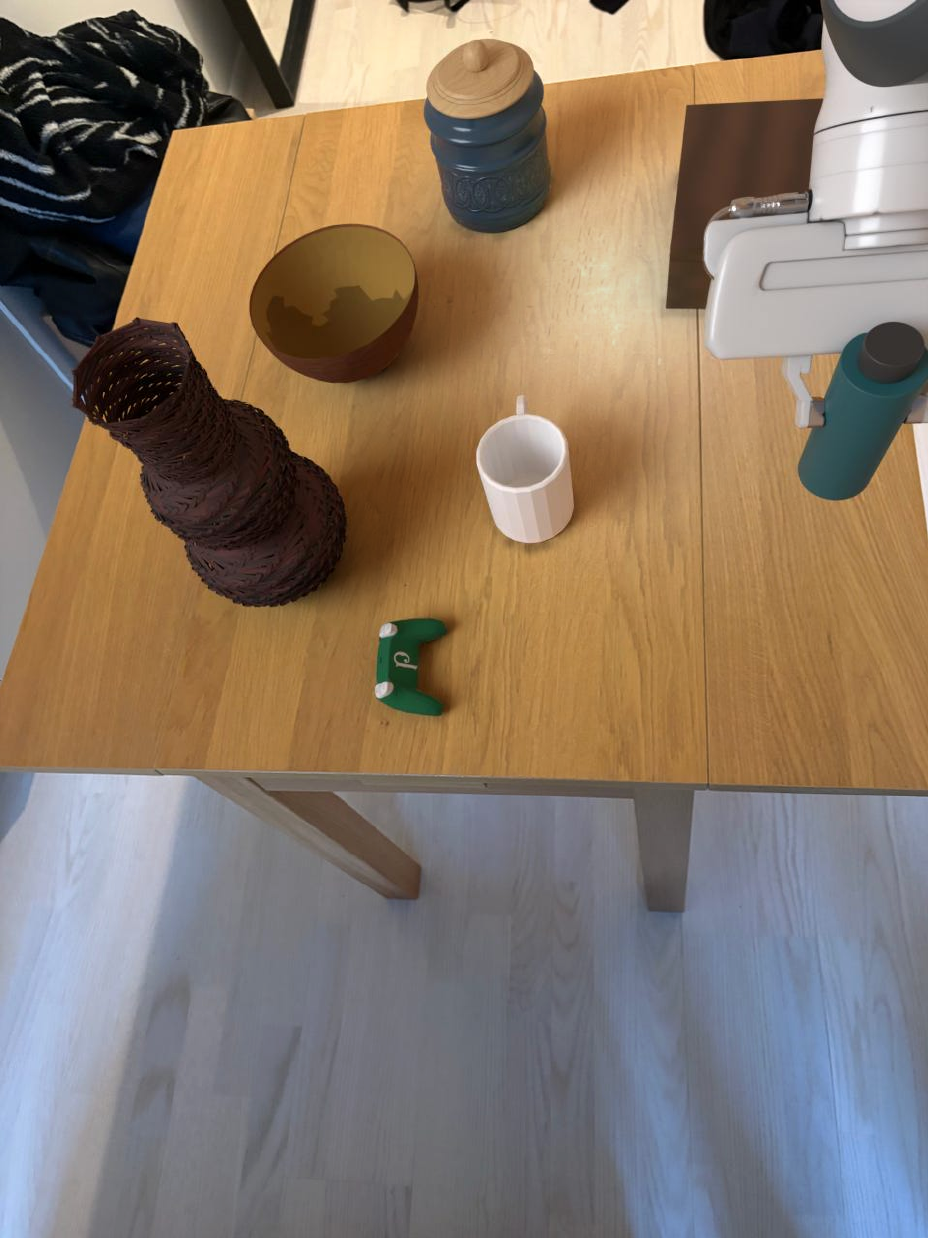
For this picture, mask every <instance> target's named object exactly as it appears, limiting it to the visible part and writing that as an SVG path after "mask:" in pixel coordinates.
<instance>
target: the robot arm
mask: <svg viewBox="0 0 928 1238" xmlns="http://www.w3.org/2000/svg"><path fill="white" fill-rule="evenodd" d="M820 6H821V12H822V17H823V20H822V34H821V56H822V59H823V60H822V61H823V66H824V76H825V77H824V79H825V80H824V83H825V84H824V93H823V97H822V98H823V103H822V106H821V110H820V112H819V115H818V118H817V121H816V124H815V129H814V137H813V149H812V160H811V172H810V182H809V191H806V192H796V193H785V194H779V195H777V196H776V195H774V196H772V197H771V196H769V197H763V198H754V197H743V198H738V199H735V200H732V201H731V203H730V206H728V207H725V208H723V209H721V210H720V211H718V212H717V213H716V214H714V216H713V217H712V218H711V219H710V221H709V222H708V224H707V226H706V229H705V231H704V238H703V265H704V269H705V271H706V273H707V274H708V275H709V276H710V277H711V283H710V288H709V293H708V299H707V305H706V309H705V312H704V322H703V323H704V324H703V334H702V342H703V347H704V349H705V350H706V351H707V352H708V353H709V354H710V356H712V357H713V358H714V359H716V360H719V361H735V360H751V359H768V358H769V359H770V358H781V367H780V368H781V369H780V372H781V375H782V376H783V378H784V380H785V381H786V383H787V385H788V388H789V389H790V391H791V393H792V395H793V396H794V397H793V398H795V399H796V400H795V401H796V403H795V414H794V422H795V423H794V425H795V427H796V428H798V429H812V428H818V427H823V425H824V420H825V418H824V416H823V413H824V412H825V405H826V400H824V398H823V397H821V396H812V395H811V392H810V391H809V388H808V387H807V385H806V383H805V381H804V379H803V377H802V375H808V374H810V373H811V371H812V362H813V356H817V355H818V356H820V355H821V356H823V355H838V354H840V355H841V353H842V351H843V349H844V347H845V346H846V344H847V343H848V342H849V341H850V340H852V339H853V338H854V337H856V336H857V335H859V334H861V333H868V332H869V331H870V330H871V329H872V328H874V327H875V326H877V325H879V324H882V323H886V322H901V323H905V324H908V325H910V326H912V327H914V328H915V329H917V330H918V331H919V332H920V334H921V335H922V337H923V339H924V344H925V347H926V348H927V350H928V0H820ZM806 212H807V213H806ZM729 213H730V217H731V218H736V219H730V220H719V219H720V218H721V217H723V216H725V215H727V214H729ZM765 214H766V215H775V216H764V217H753V216H759V215H765ZM751 217H753V218H751ZM718 220H719V221H718ZM807 222H808V223H809V224H807ZM903 424H904V425H917V424H919V425H920V424H928V379H927V381H926V383H925V385H924V387H923V388H922V390H921V392H920V394H919V395H918V397H917V399H916V401H915V403H914V404H913V406H912V408H911V410H910V411H909V413H908V415H907V417H906V418H905V420H904V422H903Z"/></svg>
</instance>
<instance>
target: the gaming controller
mask: <svg viewBox="0 0 928 1238" xmlns="http://www.w3.org/2000/svg"><path fill="white" fill-rule="evenodd" d="M447 633H448V628H447V626H446V624H445V622H444V621H443V620H441V619H438V618H433V617H421V618H420V617H416V618H415V617H413V618H405V619H399V620H393V621H389V622H385V623H384V624H383V625H381V627H380V629H379V633H378V634H379V635H378V642H379V643H378V648H377V654H376V655H377V656H376V669H375V671H376V673H375V677H376V679H375V680H376V683H375V685H374V686H375V687H374V691H375V698H376V699H377V700H378V701H379V702H380V703H382V704H384V705H386V706H387V707H389V708H391V709H393V710H396V711H400V712H403V713H407V714H413V715H419V716H429V717H441V716H442V713H443V710H444V707H445V704H444V703H443V702H442V701H440V699H438V698H436V697H434V696H432V695H431V694H428V693H426V692H423V691H421V690H418V678H419V662H420V661H419V660H420V645H422V644H424V643H427V642H431V641H434V640H435V641H436V640H438V639H439V638H442V637H444V636H446V634H447Z"/></svg>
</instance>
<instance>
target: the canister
mask: <svg viewBox="0 0 928 1238" xmlns="http://www.w3.org/2000/svg"><path fill="white" fill-rule="evenodd" d="M534 67H535V66H534V62H533V60H532V57H531V56H530V55H529V53H528V52H527V51H526V50H525V49H523V48H522V47H521V46H519V45H516V44H514V43H512V42H508V41H504V40H501V39H496V38H482V39H480V38H479V39H472V40H470V41H467V42H465V43H463V44H461V45H459V46H457V47H455V48H453V50H451V51H449V52H448V53H447V54H446V55H445V56H444V57H443V58H442V59H441V60H439V62H438V63H436V64H435V66H434V67H433V68H432V70H431V71H430V73H429V75H428V78H427V80H426V85H425V87H426V88H425V89H426V90H425V92H426V97H425V101H424V103H423V119H424V122H425V124H426V126H427V128H428V130H429V131H430V137H429V145H430V149H431V152H432V154H433V156H434V158H435V163H436V166H437V170H438V171H437V172H438V175H439V176H438V177H439V179H440V184H441V185H440V187H441V188H440V190H441V195H442V199H443V202H444V205H445V207H446V208H447V210H448V212H449V214H450V216H451V218H452V219H453V221H455V222H456V223H457V224H458V225H460V226H461V227H463V228H465V229H467V230H469V231H474V232H478V233H491V234H492V233H501V232H506V231H508V230H512V229H516V228H517V227H519V226H520V227H521V226H522V225H524V224H525V223H527V222H528V221H530V220H531V219H533V218H535V216H536V215H537V214H538V213H539V212H540V211H541V210H542V209H543V208H544V206H545V205H546V203H547V201H548V199H549V196H550V191H551V185H552V166H551V161H550V159H549V150H548V149H549V148H548V138H547V137H548V136H547V126H548V119H547V113H546V111H545V108H544V106H543V102H544V97H545V87H544V83H543V80H542V78H541V76H540V75H539V73H538V71H536V70H535V68H534Z"/></svg>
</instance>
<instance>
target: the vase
mask: <svg viewBox="0 0 928 1238" xmlns="http://www.w3.org/2000/svg"><path fill="white" fill-rule="evenodd" d="M94 341H95V342H94V343H93V345H92V346H91V347H90V348H89V350H88V351H87V352H86V353H85V355H84V356H83V357H82V359H81V360H80V361H79V362H78V364H77V365H76V366H75V367H74V369H72V370H70V372H71V375H72V376H73V377H72V378H73V383H72V384H73V385H72V398H71V401H72V405H71V407H72V408H74V409H77V410H79V411H80V412H82V414H84V415H85V417H86V418H87V419H88V420H87V421H88V422H90V423H91V425H93V426H98V427H99V428H100V427H101V428H102V429H104V430H107V431H109V432H108V434H109V435H108V436H109V437H110V438H111V439H112V440H114V441H116V442H118V443H119V444H120V445H121V446H122V447H124V448H126V449H127V450H130V451H131V452H132V453H133V455H135V456H136V458H137V461H139V463H141V464H142V465H141V467H140V468H141V470H140V471H141V473H140V474H139V479H140V483H139V484H140V486H141V488H142V491H143V493H144V496H143V497H144V498H145V499H146V503H147V504H148V505H149V509H150V513H151V515H153V516H154V519H155V520H156V521H157V522H158V523H159V522H160V524H161V525H162V526H164V527H166V528H169V529H170V532H171V533H172V534H174V535H176V536H177V538H178V539H180V540H181V541H184V544H185V545H184V546H183V548H184V550H185V553H186V555H185V557H186V558H187V561H188V562H189V564H190V566H191V570H192V571H193V572H195V573H196V574H197V577H199V578H201V579H200V581H201V583H203V584H204V585H206V586H207V588H206V589H208V591H211V592H215V594H216V595H217V596H219V597H224V598H225V599H227V600H231V602H232V603H233V604H234V605H241V606H242V607H245V608H251V607H252V606H253V608H261V607H262V608H266V607H269V608H277V607H278V606H280V607H285V606H286V605H288V604H290V603H295V602H297V600H299V599H301V598H306V597H307V596H308V595H309V594H310V593H312V592H315V591H317V590H318V589H319V588H320V587H321V585H322V584H324V583H326V582H327V580H328V579H329V578H330V576H331V574H333V573H334V571H335V570H336V567H337V564H338V562H340V561H341V558H342V554H343V552H344V547H345V543H346V541H347V531H348V517H347V510H346V506H345V502H344V499H343V496H342V495H341V494H340V492H339V488H338V486H337V484H335V483H334V482H333V480H332V477H331V476H330V475H329V474H328V473H327V472H326V471H325V469H324V468H323V467H322V466H321V465H318V464H317V463H315V461H314V460H312V459H310V458H308V457H306V456H303V455H300V454H298V453H297V452H294V451H292V449H291V447H290V443H289V440H288V437H287V436H286V435H285V433H284V431H283V429H282V427H280V426H278V425H276V422H275V421H274V420H273V419H272V418H271V417H270V416H269V415H267V414H266V413H265V412H264V410H262V409H261V408H259V407H256V406H254V405H253V404H251V403H249V402H246V401H241V400H239V399H228V398H223V396H222V395H220V394H219V392H218V391H217V389H216V387H215V386H214V385H213V384H212V382H211V378H210V377H209V376H208V371H207V370H206V369H205V368H204V367H203V365H202V364H201V363H200V362H199V360H197V357H196V355H195V353H194V351H193V348H192V347H191V345H190V343H189V341H188V339H186V335H185V334H184V332H183V330H181V327H180V325H179V323H178V322H174V321H172V322H164V321H159V320H152V319H146V318H140V317H138V316H136V317H135V318H134V319H132V320H131V322H128V323H126V324H124V325H122V326H120V327H118V328H115V329H113V330H111V331H108V332H106V333H104V334H101V335H96V337H95V338H94Z"/></svg>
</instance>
